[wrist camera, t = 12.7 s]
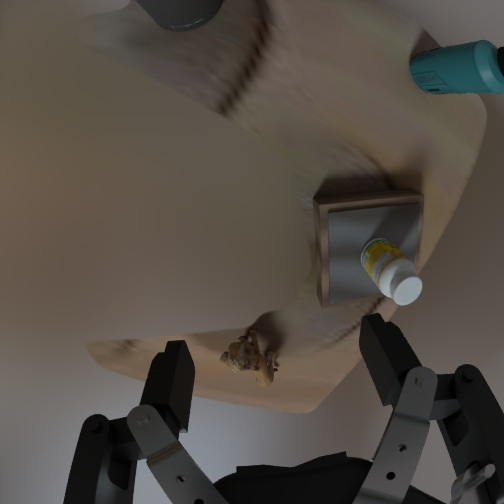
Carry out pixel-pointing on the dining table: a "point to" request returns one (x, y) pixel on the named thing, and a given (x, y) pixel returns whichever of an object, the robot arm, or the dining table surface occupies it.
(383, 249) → the supplement bottle
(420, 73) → the beverage bottle
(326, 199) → the wooden framed mirror
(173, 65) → the dining table surface
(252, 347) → the lion figurine
